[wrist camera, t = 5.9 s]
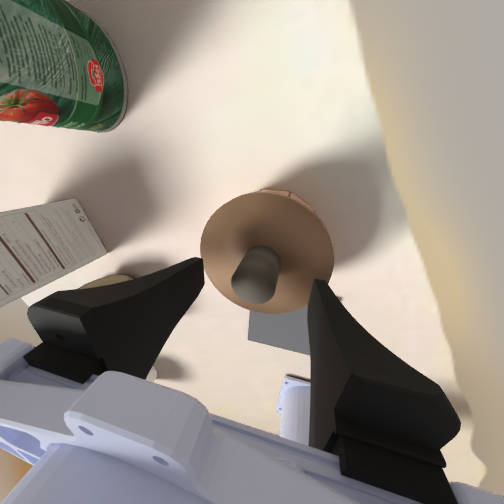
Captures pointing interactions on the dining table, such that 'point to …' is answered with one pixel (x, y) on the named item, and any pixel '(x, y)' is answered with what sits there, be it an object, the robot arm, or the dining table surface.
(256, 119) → the dining table surface
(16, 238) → the supplement box
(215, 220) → the walnut lid
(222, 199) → the dining table surface
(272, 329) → the charcoal mat
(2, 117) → the canned tomato
